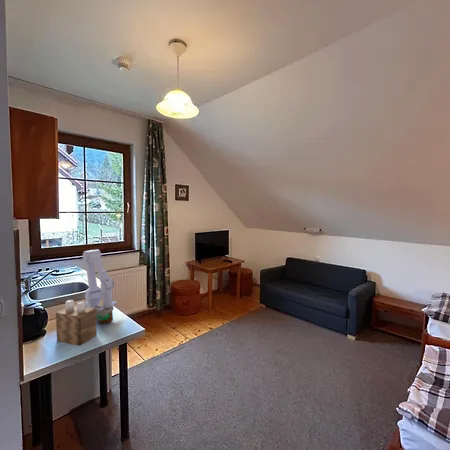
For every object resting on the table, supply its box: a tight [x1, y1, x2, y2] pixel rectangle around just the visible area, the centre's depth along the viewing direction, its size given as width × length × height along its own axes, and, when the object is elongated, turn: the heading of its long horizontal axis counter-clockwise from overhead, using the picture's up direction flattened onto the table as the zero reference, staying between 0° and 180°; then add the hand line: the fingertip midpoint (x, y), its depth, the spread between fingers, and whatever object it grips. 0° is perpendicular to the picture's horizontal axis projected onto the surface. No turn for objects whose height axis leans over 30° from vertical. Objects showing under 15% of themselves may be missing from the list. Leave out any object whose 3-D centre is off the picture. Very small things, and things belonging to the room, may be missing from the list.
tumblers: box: [65, 299, 86, 313], centre depth 149 cm, size 12×4×5 cm, turn 73°
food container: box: [95, 305, 114, 325], centre depth 169 cm, size 12×6×10 cm, turn 76°
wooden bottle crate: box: [55, 304, 97, 347], centre depth 150 cm, size 16×12×16 cm
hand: (108, 318), depth 174 cm, fingers closed
